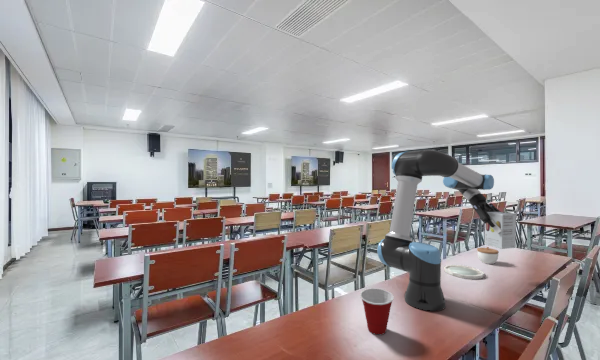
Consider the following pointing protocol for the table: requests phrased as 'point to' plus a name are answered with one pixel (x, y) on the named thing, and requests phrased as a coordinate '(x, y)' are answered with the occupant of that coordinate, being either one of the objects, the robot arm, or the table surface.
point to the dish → (463, 271)
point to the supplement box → (506, 235)
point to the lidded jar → (487, 255)
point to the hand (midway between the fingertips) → (506, 231)
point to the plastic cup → (377, 308)
